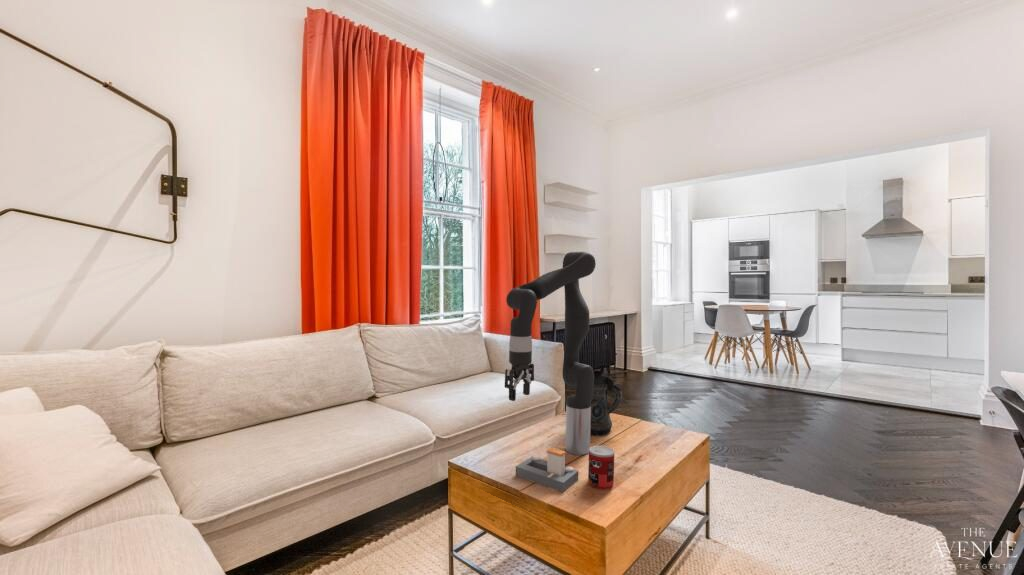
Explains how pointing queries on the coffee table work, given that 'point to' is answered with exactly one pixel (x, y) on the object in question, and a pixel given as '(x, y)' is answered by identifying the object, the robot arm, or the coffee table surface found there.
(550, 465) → the fader tab
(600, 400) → the beer stein
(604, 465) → the canned food
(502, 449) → the coffee table surface
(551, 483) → the console
